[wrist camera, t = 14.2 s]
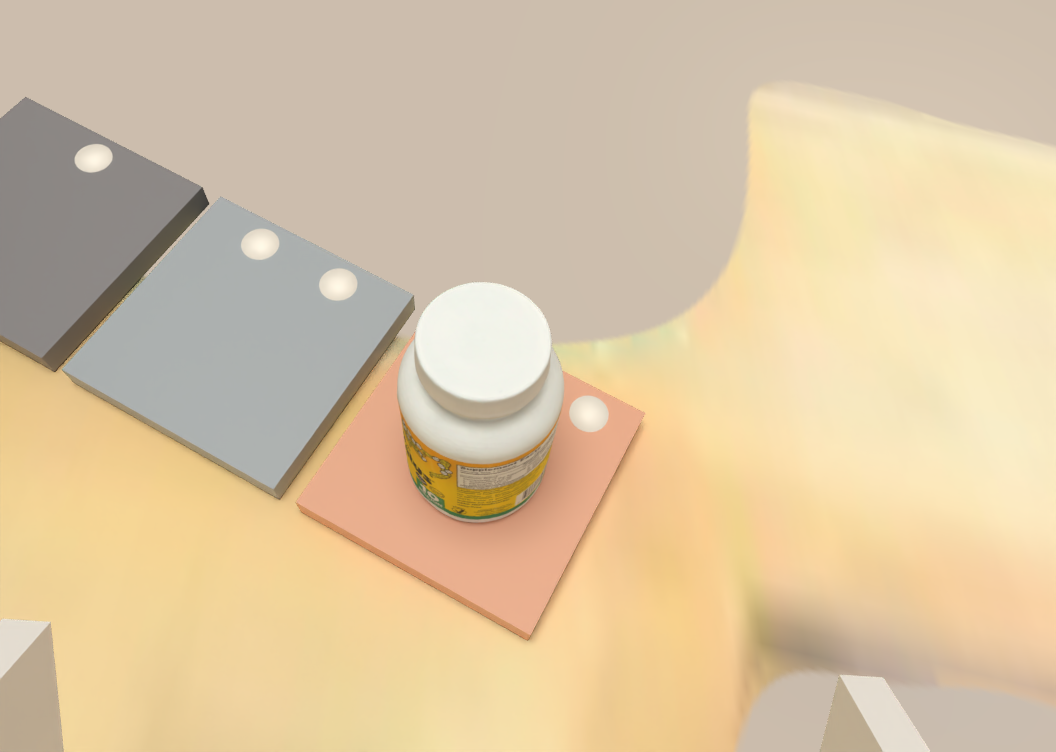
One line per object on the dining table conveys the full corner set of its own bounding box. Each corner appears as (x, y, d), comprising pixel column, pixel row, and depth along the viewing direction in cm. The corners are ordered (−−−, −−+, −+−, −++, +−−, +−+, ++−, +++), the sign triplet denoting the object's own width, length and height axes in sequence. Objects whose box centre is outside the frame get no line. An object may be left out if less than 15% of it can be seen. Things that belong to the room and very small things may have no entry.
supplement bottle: (557, 513, 32) (595, 411, 23) (416, 536, 31) (402, 439, 22) (530, 387, 34) (556, 252, 26) (399, 406, 33) (379, 272, 25)
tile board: (-132, 265, 36) (-151, 248, 34) (36, 115, 40) (24, 96, 39) (528, 640, 31) (530, 634, 30) (639, 424, 35) (645, 412, 34)
